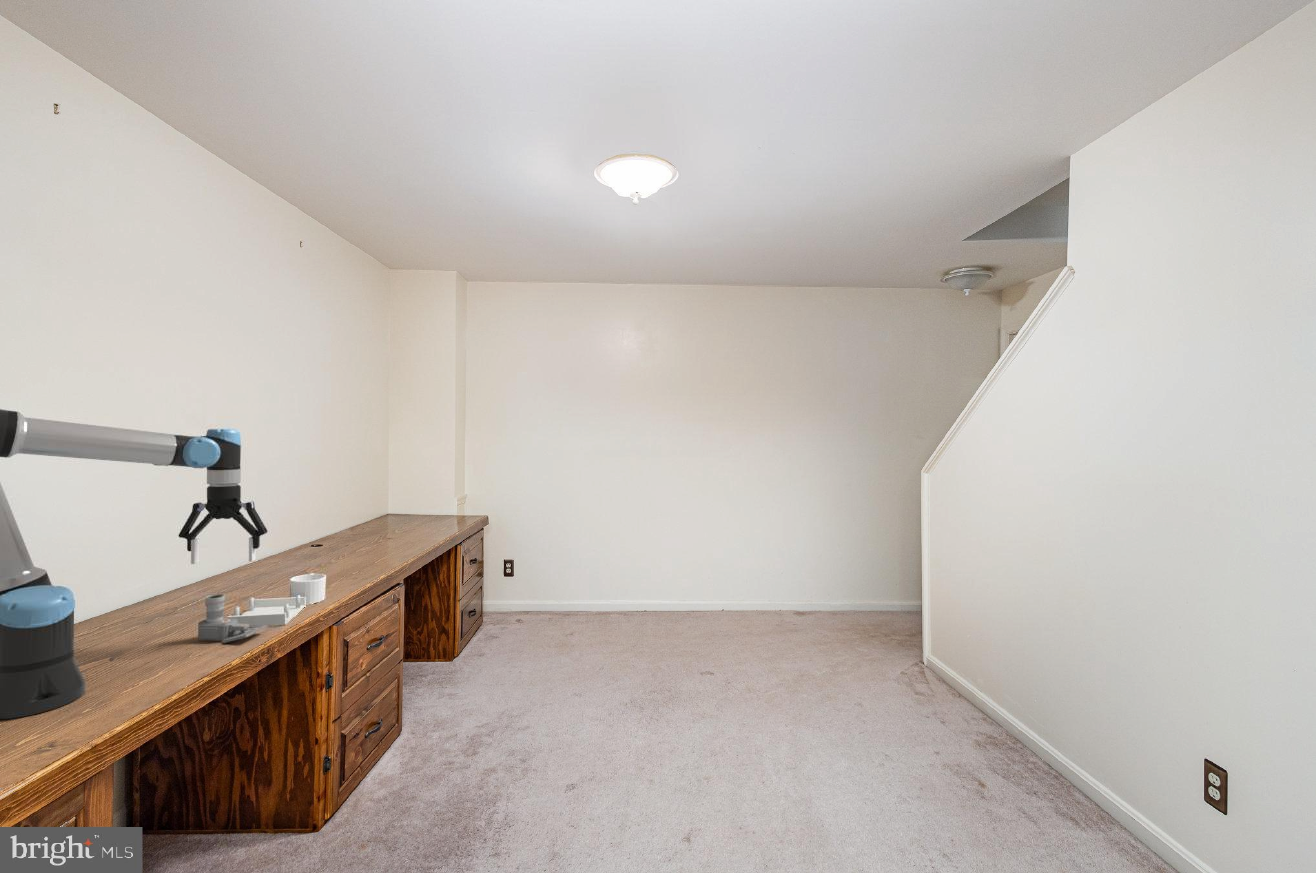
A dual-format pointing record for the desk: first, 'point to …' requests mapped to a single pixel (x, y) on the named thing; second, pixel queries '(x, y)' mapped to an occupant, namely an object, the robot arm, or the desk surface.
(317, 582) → the mug
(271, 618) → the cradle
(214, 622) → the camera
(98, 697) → the desk surface
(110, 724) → the desk surface
